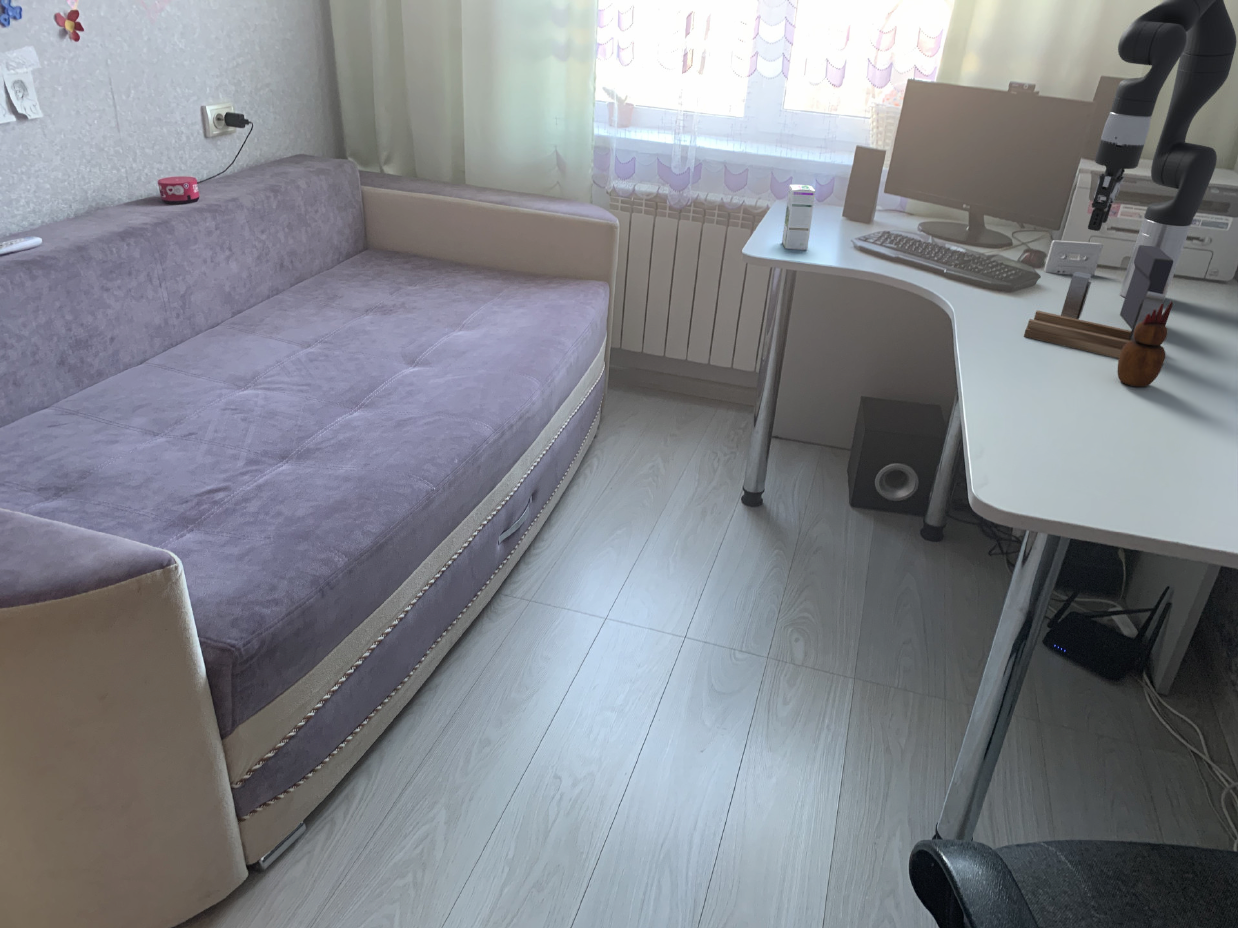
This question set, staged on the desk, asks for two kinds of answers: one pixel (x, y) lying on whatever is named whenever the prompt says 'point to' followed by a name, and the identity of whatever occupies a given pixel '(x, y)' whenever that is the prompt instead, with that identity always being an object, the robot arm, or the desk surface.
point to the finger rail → (1089, 329)
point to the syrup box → (798, 217)
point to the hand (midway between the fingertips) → (1096, 226)
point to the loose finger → (1076, 295)
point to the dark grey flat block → (1146, 279)
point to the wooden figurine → (1144, 350)
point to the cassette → (1070, 266)
